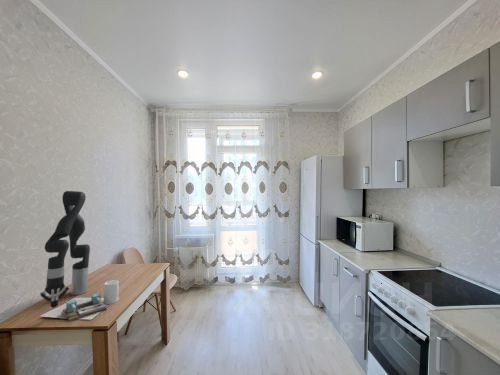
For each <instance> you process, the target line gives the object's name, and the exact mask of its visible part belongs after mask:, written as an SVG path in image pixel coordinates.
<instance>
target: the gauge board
mask: <svg viewBox="0 0 500 375" xmlns="http://www.w3.org/2000/svg"><path fill="white" fill-rule="evenodd" d="M104 311H107V304H104V303H103V302H101V305H99V304H96V305H93V301H91V300H89V301H85V302H83V303H79V304H77V310H76V311H75V313H73V311H72V312H69V313H68V308H67V311H66V308H64V309H62V312H64V313H65V314H64V313H63V314H64V316H65V315H66V316H65V317H66V319H67V321H68V322H70V323H71V322H73V321H75V320H78V319H82V318H85V316H86V317H88V315H89V316H91V314H92V315H95V314H97V312H98V313H101V312H104ZM94 313H95V314H94Z"/></svg>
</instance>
